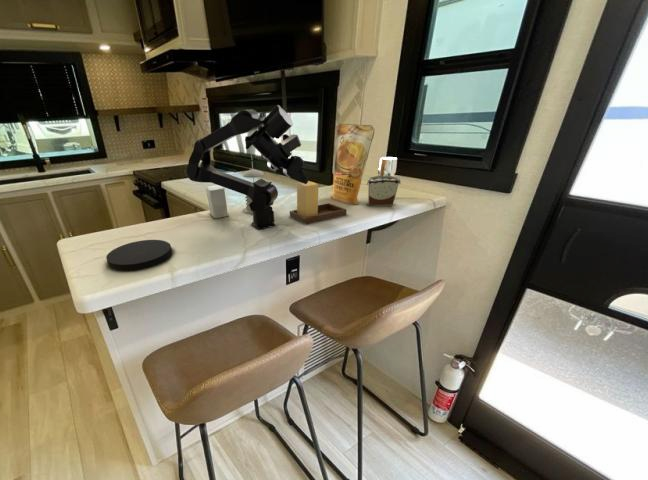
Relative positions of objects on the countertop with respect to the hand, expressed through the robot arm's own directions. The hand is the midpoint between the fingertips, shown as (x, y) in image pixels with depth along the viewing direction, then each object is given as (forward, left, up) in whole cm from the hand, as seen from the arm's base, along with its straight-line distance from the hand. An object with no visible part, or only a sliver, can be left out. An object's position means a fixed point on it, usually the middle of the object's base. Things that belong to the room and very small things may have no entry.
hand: (300, 180), depth 105 cm
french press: (-8, +21, -14) cm, 26 cm away
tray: (+7, 0, -14) cm, 15 cm away
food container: (+36, -1, -14) cm, 39 cm away
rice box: (+2, 0, -13) cm, 13 cm away
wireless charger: (-56, -1, -14) cm, 58 cm away
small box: (-23, +25, -14) cm, 36 cm away
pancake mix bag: (+29, +11, -14) cm, 34 cm away
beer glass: (+45, +6, -14) cm, 47 cm away
